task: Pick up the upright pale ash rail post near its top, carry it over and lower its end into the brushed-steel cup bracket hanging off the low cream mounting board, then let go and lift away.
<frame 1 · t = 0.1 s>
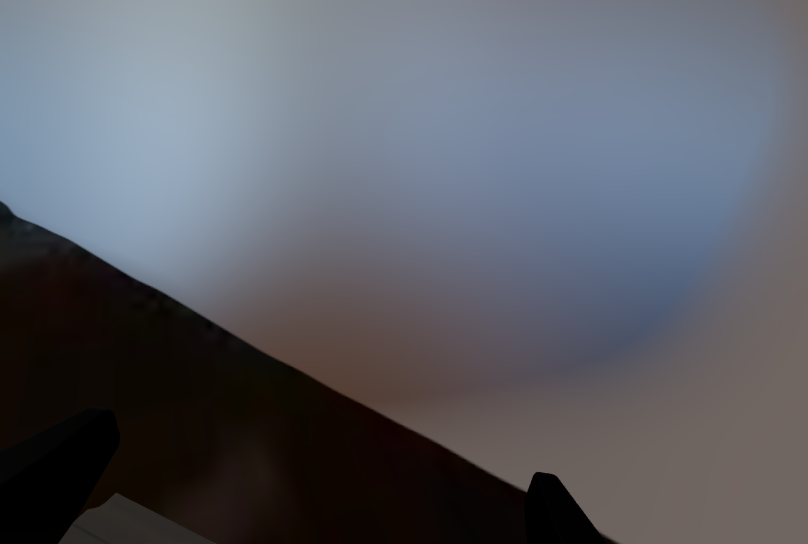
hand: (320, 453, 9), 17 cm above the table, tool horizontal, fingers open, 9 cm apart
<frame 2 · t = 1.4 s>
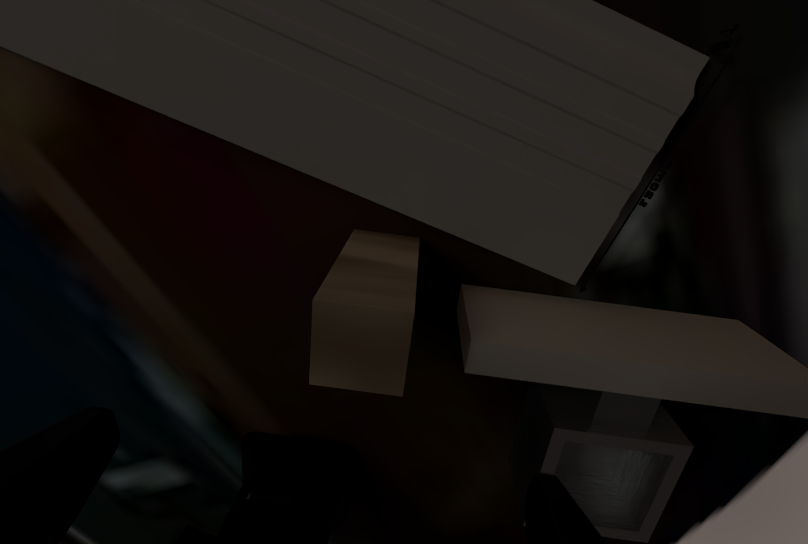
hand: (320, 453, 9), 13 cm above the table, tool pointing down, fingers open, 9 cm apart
mounting board: (595, 315, 22), on the table
rail post: (383, 264, 21), on the table
baseboard molding: (316, 19, 18), on the table
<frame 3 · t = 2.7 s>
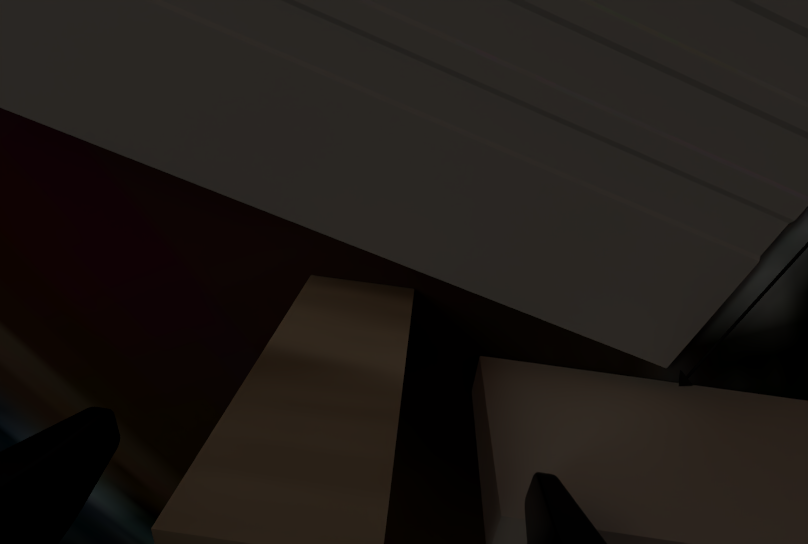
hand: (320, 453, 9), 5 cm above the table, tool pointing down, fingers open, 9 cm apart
mounting board: (687, 403, 14), on the table
rail post: (359, 325, 14), on the table
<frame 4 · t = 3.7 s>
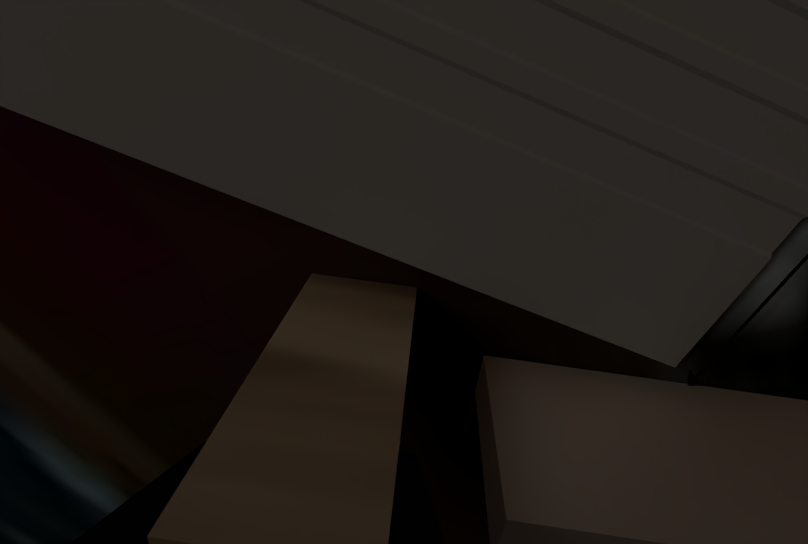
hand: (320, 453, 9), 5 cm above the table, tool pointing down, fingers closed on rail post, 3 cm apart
mounting board: (694, 404, 14), on the table
rail post: (360, 324, 13), on the table, touching gripper
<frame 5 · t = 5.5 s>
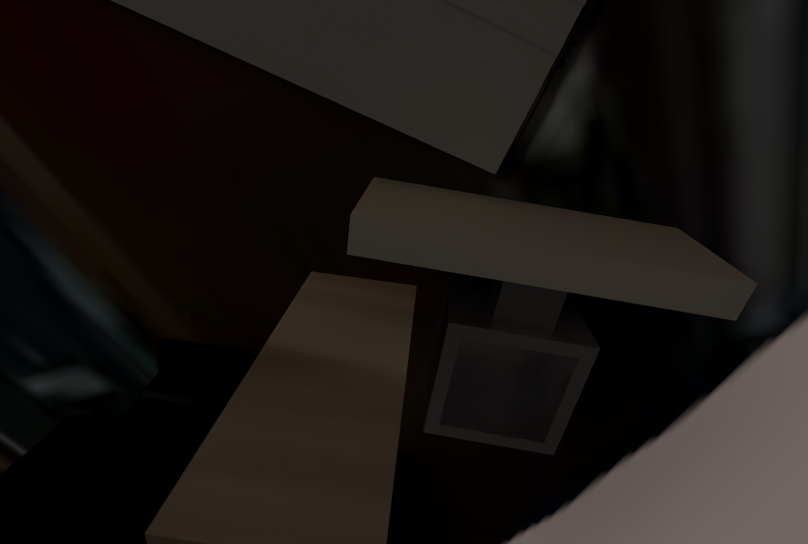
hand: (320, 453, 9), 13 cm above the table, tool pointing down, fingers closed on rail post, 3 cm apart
mounting board: (520, 217, 20), on the table
rail post: (360, 323, 13), point 8 cm above the table, touching gripper
when the fingers open (9 cm above the table, at t = 7.3 s): rail post stays where it is, resting on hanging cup.
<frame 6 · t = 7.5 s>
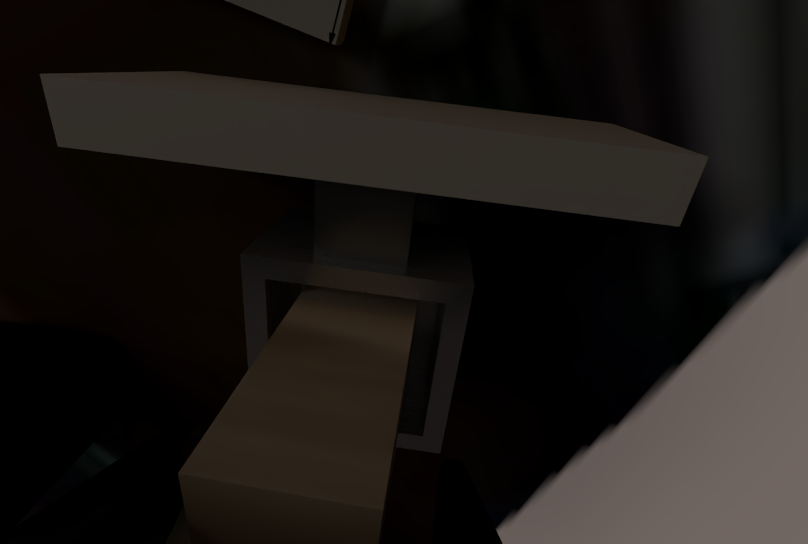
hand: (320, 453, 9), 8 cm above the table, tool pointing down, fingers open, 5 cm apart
mounting board: (392, 121, 14), on the table
rail post: (369, 308, 14), point 3 cm above the table, touching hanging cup
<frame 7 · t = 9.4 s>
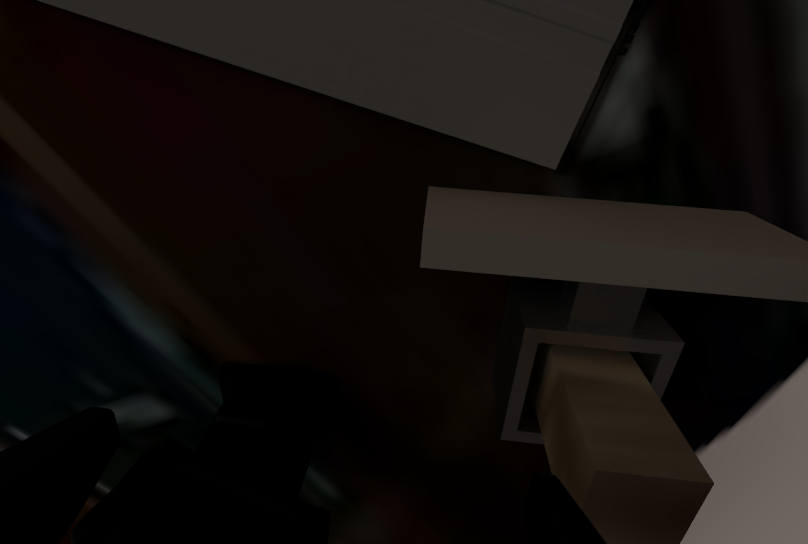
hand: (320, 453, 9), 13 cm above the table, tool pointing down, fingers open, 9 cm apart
mounting board: (580, 214, 19), on the table
rail post: (567, 350, 20), point 2 cm above the table, touching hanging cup
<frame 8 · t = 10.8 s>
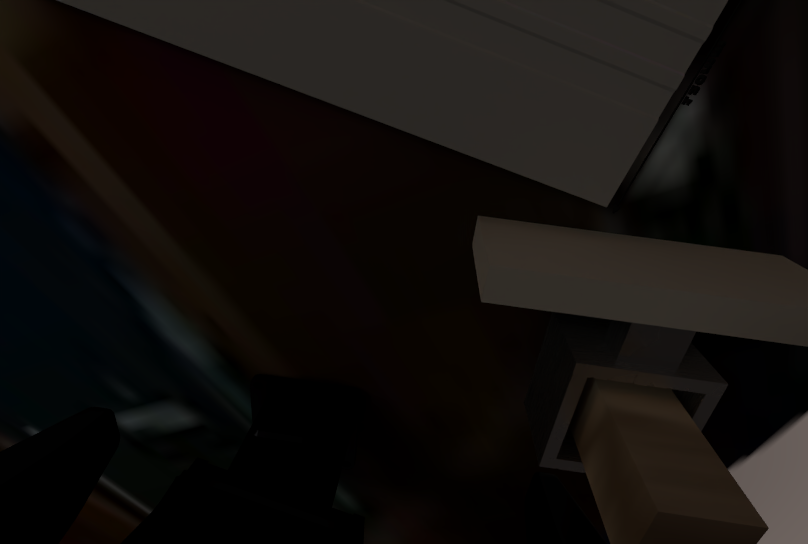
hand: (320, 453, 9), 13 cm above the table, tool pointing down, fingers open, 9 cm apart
mounting board: (622, 250, 20), on the table
rail post: (603, 380, 20), point 2 cm above the table, touching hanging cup
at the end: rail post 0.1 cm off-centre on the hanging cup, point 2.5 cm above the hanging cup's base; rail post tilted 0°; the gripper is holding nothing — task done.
